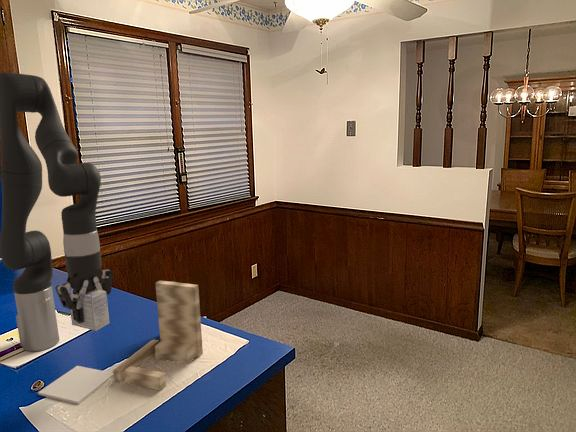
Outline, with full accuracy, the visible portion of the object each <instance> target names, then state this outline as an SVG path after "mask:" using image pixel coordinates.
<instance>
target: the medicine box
mask: <svg viewBox="0 0 576 432" xmlns="http://www.w3.org/2000/svg"><path fill="white" fill-rule="evenodd" d="M71 292H72V290H70V292H68V293H69V295H70V297H71ZM78 294H79V293H78ZM71 299H72V297H71ZM108 306H109V305H108V296H107V295H106V291H103V290H96V289H95V290H93V291H88V292H87V293H85V297H84V299H83V301H82V306H81V308H82V309H83V318H84V322H83V323H78V322H76V321H74V319H73V312H72V310H70V309H69V310H70V311H69V312H70V321H71V325H72V326H75V327H79V328H83V329H87V330H92V331H95V332H97V331H100V330H101V329H102V328H104V327H106V326H108V325H109V324H110V316H109V315H110V314H109V308H108Z"/></svg>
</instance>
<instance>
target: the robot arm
mask: <svg viewBox="0 0 576 432" xmlns="http://www.w3.org/2000/svg"><path fill="white" fill-rule="evenodd" d="M18 112H20V113H30V114H31V113H32V114H33V113H35V114H36V113H37V114H38V113H39V114H40V116H41V119H40V121H39V123H38V124H37V127H36V129H35V136H34V139H35V143H36V146H37V148H38V150H39V152H40V154H41V156H42V157H43V159H44V162H45V165H46V169H47V170H46V171H47V182H48V187H49V189H50V191H51V192H52V193H53V194H54V195H56V196H58V197H62V198H63V197H73V196H80V197H79V200H78V201H77V202H75V203H73V204H70V205H68V206H66V207H64V208H62V209H61V212H60V213H61V222H62V230H63V231H62V232H63V233H62V234H63V252H64V260H65V267H66V269H65V270H66V272H67V279H66V282H64V283H63V284H61V285H59V284H57V285H55V291H56V294H57V295H58V298H59V300H60V303H61V305H62V307H63V308H65V309H67V310H68V309H69V310H72V312H73V319H74V321H76V322H78V323H83V322H84V318H83V309H82V308H81V306H82V301H83V299H84V297H85V293H87V292H88V291H93V290H95V289H96V290H103V291H106V295H111V294H112V293H111V292H112V285H113V277H114V271H113V270H111V269H107V268H104V269H102V266H103V265H102V255H101V253H102V252H101V245H100V237H99V233H98V227H97V217H96V215H97V213H96V212H97V211H96V210H97V204H98V197H99V194H100V188H101V183H102V182H101V181H102V180H101V178H102V177H101V174H100V171H99V169H98V168H97V166H95V164H93V163H90V162H80V163H79V162H78V159H79V152H78V151H77V148H76V147H75V145H74V143H73V141H72V140H71V138H70V136H69V135H68V133H67V131H66V129H65V127H64V126H63V122H62V120H61V117H60V113H59V111H58V108H57V105H56V102H55V99H54V96H53V94H52V91H51V88H50V86H49V84H48V83H47V82H46V80H45V79H44V78H42V77H41V76H37V75H32V74H24V73H18V72H7V71H6V72H5V71H2V72H0V182H1V195H2V196H1V200H2V203H1V207H2V208H1V209H2V211H1V228H0V259H1V261H2V262H3V265H4V266H5V267H6V268H7V269H9V270H10V271H11V270H12V271H18V270H22V269H24V270H23V272H22V273H20V275H19V276H18V277H16V278H15V279H14V281H13V283H12V285H13V286H12V287H13V292H14V299H15V304H16V305H15V306H16V310H17V311H16V312H17V314H16V315H15V320H16V325H17V330H18V331H17V332H18V337H19V343H20V347H22V348H23V350H24V351H27V352H38V351H43V350H46V349H50V348H51V347H53V346H55V345H57V344H58V343H59V341H60V335H59V328H58V320H57V314H56V306H55V300H54V293H53V292H54V291H53V286H52V279H53V274H54V273H53V272H54V271H53V261H52V260H53V259H52V258H53V257H52V249H51V245H50V241H49V240H48V237H47V236H46V235H45V233H44V232H42V231H40V230H30V231H27V222H28V219H29V216H30V215H31V212H32V210H33V208H34V207H35V205H36V203H37V201H38V199H39V197H40V195H41V192H42V190H43V189H42V188H43V164H42V161H41V160H40V158H39V155H38V154H37V152H36V151H35V150H34V149H33V147H32V146H31V145H30V143H29V142H28V141H27V139H26V138H25V136H24V135H23V132H22V131H21V128H20V126H19V122H18V116H17V115H18V114H17V113H18ZM26 231H27V232H26ZM70 288H71V290H70ZM70 291H72V292H71V297H72V299H71V297H70V295H69V292H70ZM78 293H79V294H78Z"/></svg>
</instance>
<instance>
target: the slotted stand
mask: <svg viewBox="0 0 576 432" xmlns="http://www.w3.org/2000/svg"><path fill="white" fill-rule="evenodd" d="M155 296H156V305H157V316H158V318H157V319H158V329H159V339H160V340H159V339H158V340H157V339H151V340H150V341H149V342H147V343H146V344H145V345H144V346H142V347H140V349H138V350H137V351H135V352H134V353H133V354H132V355H131V356H129V357H128V358H126V359H125V360H124V361H123V362H122V363H120V364H119V365H118V366H116V367H115V368H114V369H112V373H114V377H113V380H115V381H114V382H117V381H119V382H118V383H122V382H123V381H124V380H125V384H129V385H131V386H136V387H141V388H146V389H152V390H156V391H160V392H161V391H162V390H163V389H164V388H165V387H167V385H166V384H167V383H166V373H165V372H163V371H157V370H152V369H147V368H146V369H145V368H142V367H141V366H143V365H144V364H145V363H146V362H147V361H149V360H150V359H151V358H152V357H154V356H155V359H156V358H157V359H158V360H163V361H167V360H168V362H173V361H174V363H178V362H179V364H185V365H189V364H190V363H191V362H192V361H193V360H194V359H195V358H196V357H197V358H200V357H201V356H202V355H203V353H204V352H203V351H204V349H203V339H202V338H203V337H202V336H203V335H202V322H201V307H200V290H199V284H193V283H185V282H184V283H183V282H177V281H173V282H170V281H167V280H158V281H156V282H155ZM149 358H150V359H149ZM148 359H149V360H148ZM144 362H145V363H144ZM143 363H144V364H143ZM142 364H143V365H142ZM138 367H139V368H138Z"/></svg>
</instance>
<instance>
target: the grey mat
mask: <svg viewBox="0 0 576 432" xmlns="http://www.w3.org/2000/svg"><path fill="white" fill-rule="evenodd" d="M113 376H114V373H113V372H110V371H106V370H100V369H96V368H90V367H85V366H81V365H76V366H75V367H74V368H72V369H70V370H68V371H67V372H66V373H64V374H63V375H61V376H60V377H59V378H57V379H55V380H54V381H52V382H51V383H50V384H48V385H46V386H45V387H43V389H40V390H39V391H38V392H37V394H38V395H39V396H43V397H47V398H50V399H55V400H60V401H63V402H68V403H71V404H77V405H80V404H81V403H82V402H83V401H85V400H86V399H87V398H88V397H90V396H91V395H92V394H94V393H95V392H96V391H97V390H98V389H100V388H101V387H102V386H104V385H105V384H106V383H108V382H109V381H110V380H111V379H112V378H114V377H113ZM110 378H111V379H110ZM109 379H110V380H109ZM108 380H109V381H108ZM103 384H104V385H103Z"/></svg>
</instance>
